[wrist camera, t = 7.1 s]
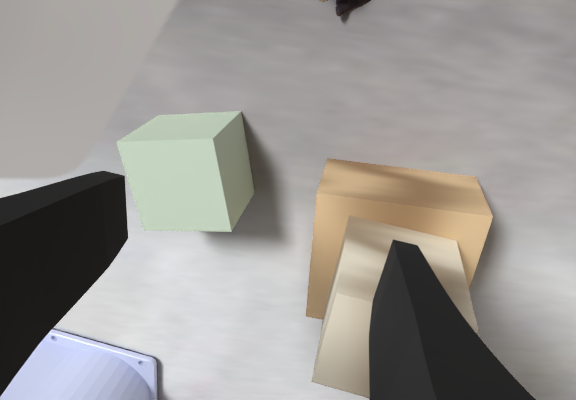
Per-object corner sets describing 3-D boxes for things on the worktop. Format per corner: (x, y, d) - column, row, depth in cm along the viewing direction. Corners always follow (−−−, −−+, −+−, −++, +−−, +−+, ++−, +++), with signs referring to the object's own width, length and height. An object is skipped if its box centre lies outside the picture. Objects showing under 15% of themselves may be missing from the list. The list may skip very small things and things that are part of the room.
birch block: (328, 293, 20) (311, 381, 16) (349, 214, 18) (336, 293, 14) (422, 318, 20) (431, 416, 15) (456, 240, 17) (478, 330, 13)
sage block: (179, 192, 24) (143, 230, 20) (159, 114, 22) (116, 141, 18) (255, 192, 23) (231, 231, 19) (241, 110, 21) (212, 138, 17)
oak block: (317, 267, 24) (305, 316, 21) (328, 156, 21) (316, 192, 18) (442, 287, 23) (451, 342, 20) (474, 174, 20) (492, 216, 17)
